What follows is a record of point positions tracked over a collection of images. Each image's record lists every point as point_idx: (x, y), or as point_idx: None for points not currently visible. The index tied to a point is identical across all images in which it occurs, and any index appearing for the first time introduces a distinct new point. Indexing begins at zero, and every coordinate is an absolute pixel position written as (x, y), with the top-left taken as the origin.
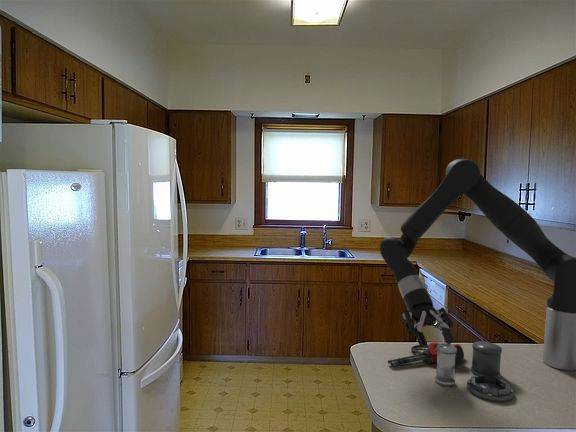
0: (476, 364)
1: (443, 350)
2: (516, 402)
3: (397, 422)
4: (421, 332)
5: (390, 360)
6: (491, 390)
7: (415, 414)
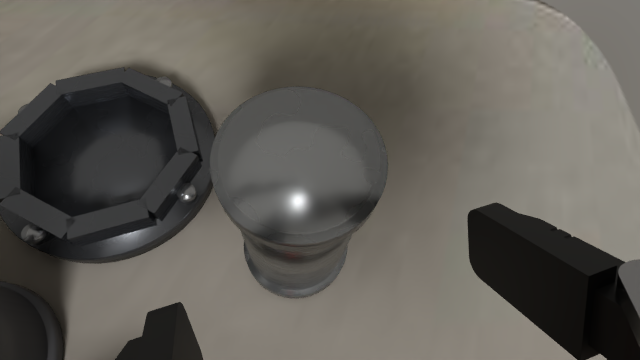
0: (14, 337)
1: (353, 107)
2: None
3: (540, 4)
4: (598, 267)
5: None
6: (146, 83)
7: (483, 33)
